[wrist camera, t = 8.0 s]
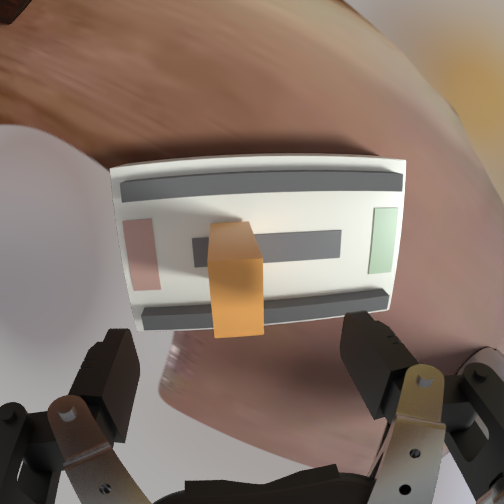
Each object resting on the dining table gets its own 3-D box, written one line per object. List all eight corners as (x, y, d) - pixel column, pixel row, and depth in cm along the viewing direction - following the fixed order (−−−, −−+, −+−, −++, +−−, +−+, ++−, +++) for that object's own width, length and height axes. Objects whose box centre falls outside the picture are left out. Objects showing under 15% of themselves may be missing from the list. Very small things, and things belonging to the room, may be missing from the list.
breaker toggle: (248, 221, 20) (263, 258, 14) (250, 279, 21) (263, 334, 15) (210, 223, 19) (207, 262, 13) (214, 282, 21) (214, 338, 15)
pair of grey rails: (394, 172, 20) (403, 174, 19) (380, 301, 23) (387, 309, 22) (125, 180, 18) (119, 183, 17) (147, 321, 22) (144, 330, 21)
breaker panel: (380, 155, 23) (406, 160, 20) (369, 288, 27) (389, 310, 24) (126, 163, 22) (109, 168, 18) (146, 305, 26) (136, 332, 22)
